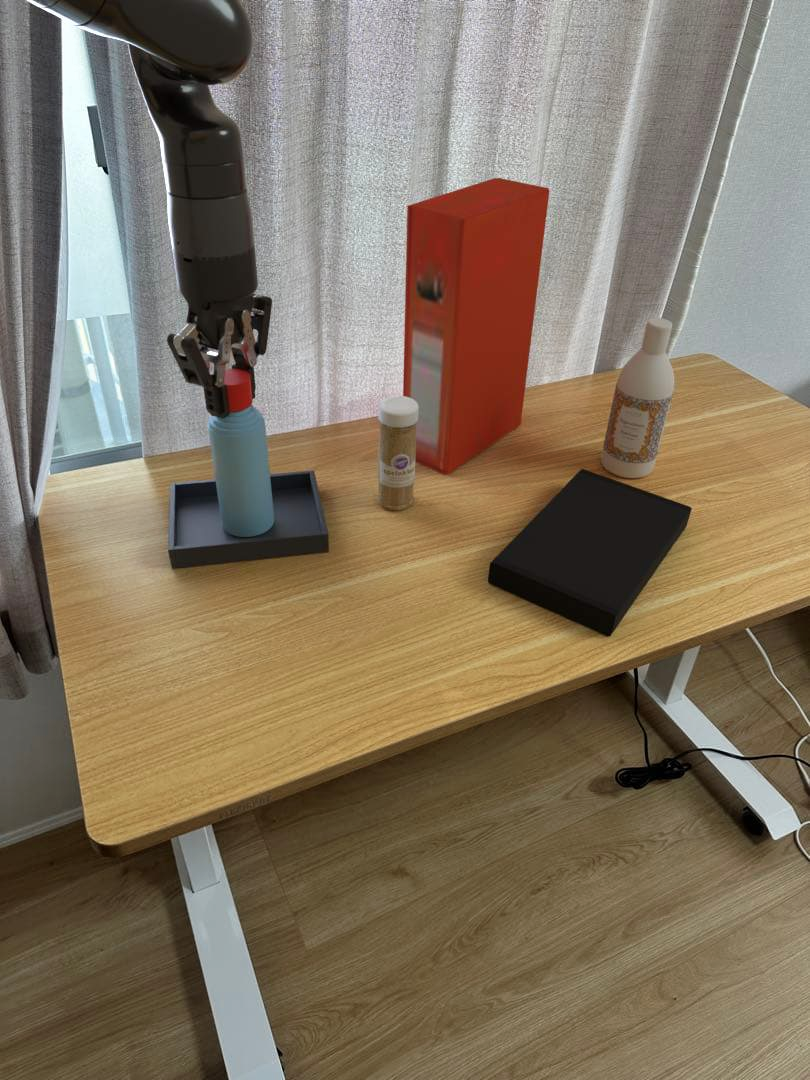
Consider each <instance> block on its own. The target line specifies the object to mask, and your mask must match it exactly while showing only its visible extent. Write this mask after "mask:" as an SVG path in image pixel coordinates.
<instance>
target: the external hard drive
mask: <svg viewBox="0 0 810 1080" xmlns="http://www.w3.org/2000/svg"><path fill="white" fill-rule="evenodd" d="M692 510H693V509H692V507H691V506H689V505H686V504H684V503H681V502H678V501H675V500H673V499H669V498H666V497H664V496H661V495H659V494H655V493H653V492H649V491H647V490H644V489H641V488H639V487H636V486H633V485H630V484H627V483H624V482H621V481H619V480H616V479H613V478H610V477H608V476H605V475H602V474H599V473H596V472H593V471H591V470H588V469H584V468H581V469H579V471H578V472H577V473H576V474H575V475H573V477H572V478H571V479H570V480H569V481H568V482H567V483H566V484H565V485H564V486H563V487H562V488H561V489H560V490H559V491H558V492H557V493H556V494H555V496H553V498H552V499H550V501H548V502H547V504H546V505H545V506H543V508H542V509H541V510H540V511H539V512H538V513H537V514H536V515H535V516H534V517H533V518H532V519H531V520H530V521H529V522H528V523H527V525H525V526H524V527H523V528H522V529H521V530H520V531H519V533H517V534H516V536H515V537H513V539H512V540H511V541H510V542H508V544H507V545H506V546H504V548H502V550H501V551H500V552H499V553H498V554H497V555H496V556H495V557H494V558H493V559H492V560H491V561H490V562H489V567H488V575H487V576H488V577H487V583H488V584H489V585H490V586H494V587H496V588H498V589H500V590H503V591H504V592H507V593H509V594H511V595H514V596H515V597H518V598H520V599H523V600H525V601H527V602H530V603H531V604H534V605H537V606H539V607H541V608H543V609H545V610H548V611H550V612H552V613H554V614H556V615H559V616H560V617H563V618H566V619H567V620H570V621H572V622H574V623H577V624H579V625H581V626H583V627H586V628H588V629H590V630H593V631H594V632H597V633H598V634H601V635H604V636H606V637H608V638H609V637H611V636H612V635H613V633H614V632H615V630H616V629H617V627H618V626H619V624H621V622H622V621H623V619H624V617H625V616H626V615H627V613H628V612H629V610H630V609H631V607H632V606H633V604H634V603H635V602H636V600H637V598H638V597H639V596H640V595H641V593H642V591H643V590H644V588H645V587H646V586H647V584H648V583H649V582H650V580H651V579H652V577H653V575H654V574H655V573H656V571H657V570H658V568H659V567H660V566H661V564H662V562H663V561H664V559H665V558H666V557H667V555H669V552H670V551H671V549H672V548H673V547H674V545H675V544H676V542H677V541H678V539H679V538H680V536H681V535H682V534H683V532H684V531H685V529H686V528H687V526H688V523H689V519H690V516H691V513H692Z"/></svg>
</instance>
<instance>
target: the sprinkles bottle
mask: <svg viewBox="0 0 810 1080" xmlns="http://www.w3.org/2000/svg"><path fill="white" fill-rule="evenodd" d="M418 413H419V406H418V403H417V402H416V401H415V400H413V399H411V398H409V397H405V396H403V395H390V396H387V397H385V398H383V399H381V401H379V403H378V413H377V418H378V423H379V433H378V434H379V435H378V450H377V479H378V491H377V492H378V494H377V496H376V497H377V499H376V500H377V503H378V504H379V506H381V507H382V508H383V509H385V510H389V511H402V510H406V509H408V508H410V507H411V506H412V505H413V503H414V499H415V498H414V485H415V483H414V482H415V475H416V474H415V473H416V461H415V457H416V424H417V421H418Z"/></svg>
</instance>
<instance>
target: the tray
mask: <svg viewBox="0 0 810 1080" xmlns="http://www.w3.org/2000/svg"><path fill="white" fill-rule="evenodd" d="M270 480H271V491H272V501H273V511H274V524H273V526H272V527H271V528H270V529H269V530H268V531H266V532H264V533H262V534H260V535H256V536H251V537H238V536H234V535H231V534H229V533H227V532H226V531H225V530H224V529H223V527H222V521H221V514H220V507H219V501H218V494H217V487H216V480H215V478H209V479H200V480H199V479H198V480H188V481H177V482H170V483H169V484H170V485H169V509H168V511H169V512H168V543H167V545H168V547H167V551H168V556H169V562H170V567H171V569H172V570H174V569H180V568H193V567H201V566H202V567H203V566H212V565H220V564H221V565H222V564H229V563H238V562H248V561H257V560H268V559H276V558H277V559H278V558H285V557H296V556H305V555H315V554H323V553H330V540H329V535H330V534H329V530H328V526H327V522H326V517H325V512H324V508H323V504H322V499H321V495H320V490H319V486H318V481H317V477H316V473H315V470H304V471H303V470H302V471H292V472H291V471H290V472H278V473H270Z"/></svg>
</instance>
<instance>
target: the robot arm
mask: <svg viewBox="0 0 810 1080" xmlns="http://www.w3.org/2000/svg"><path fill="white" fill-rule="evenodd" d="M26 1H27V2H28V3H31V4H32V5H34V6H36V7H38V8H40V9H42V10H44V11H46V12H48V13H50V14H51V15H54V16H56V17H57V18H59V19H61V20H64V21H65V22H67V23H69V24H72V25H73V26H75V27H77V28H79V29H81V30H83V31H86V32H88V33H92V34H95V35H96V36H101V37H105V38H110V39H114V40H118V41H123V42H125V43H127V48H128V53H129V57H130V61H131V64H132V68H133V71H134V73H135V77H136V79H137V82H138V86H139V88H140V91H141V93H142V94H141V95H142V96H143V100H144V103H145V105H146V107H147V110H148V114H149V116H150V118H151V121H152V123H153V125H154V127H155V130H156V133H157V135H158V138H159V143H160V152H161V154H160V155H161V160H162V166H163V167H162V168H163V175H164V181H165V188H166V197H167V219H168V220H167V222H168V228H169V235H170V242H171V249H172V256H173V262H174V263H173V264H174V269H175V276H176V283H177V289H178V291H179V293H180V295H182V297H183V298H184V300H185V301H186V304H187V310H186V316H185V323H186V325H184V327H183V329H181V330H180V332H179V333H175V332H170V333H169V334H168V335H167V339H166V342H167V345H168V347H169V349H170V352H171V354H172V355H173V357H174V359H175V362H176V364H177V366H178V368H179V370H180V373H181V374H182V376H183V379H184V380H185V382H186V383H187V384H191V385H195V386H199V387H202V388H203V395H204V401H205V409H206V411H207V413H209V415H210V416H211V415H212V416H215V417H219V418H222V419H224V418H226V417H227V416H229V414H230V412H229V404H228V395H227V387H226V384H224V382H225V369H226V365H227V364H229V363H230V361H231V362H233V364H232V365H231V369H240V370H244V371H247V372H248V373H249V374H250V380H251V390H252V400H255V398H256V387H257V386H256V379H255V378H256V375H255V367H256V365H257V362H258V357H259V356H264V355H265V354H266V352H267V348H268V340H269V339H268V338H269V331H270V324H271V323H270V322H271V315H272V307H273V299H272V298H271V297H270V296H265V295H262V294H258V293H256V291H257V289H258V287H259V280H258V269H257V258H256V255H257V254H256V245H255V232H254V221H253V214H252V207H251V203H250V199H249V193H248V185H247V174H246V173H247V172H246V163H245V160H246V159H245V151H244V144H243V137H242V131H241V129H240V127H239V124H238V123H237V121H235V120H234V119H233V118H231V116H229V115H228V114H226V113H225V112H223V111H222V110H221V109H220V108H218V106H217V105H216V103H215V101H214V98H213V96H212V92H211V90H210V86H221V85H225V84H228V83H231V82H233V81H235V80H236V79H237V78H239V77H240V76H241V75H242V74H243V73H244V72H245V70H246V69H247V67H248V66H249V63H250V61H251V59H252V55H253V52H254V33H253V28H252V24H251V20H250V17H249V15H248V13H247V11H246V9H245V7H244V5H243V4H242V2H241V1H240V0H26ZM254 330H255V331H257V339H256V338H255V334H254ZM209 349H211V350H209ZM212 350H215V351H218V352H215V351H212ZM211 363H212V364H213V371H210V368H211V366H210V364H211Z"/></svg>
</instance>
